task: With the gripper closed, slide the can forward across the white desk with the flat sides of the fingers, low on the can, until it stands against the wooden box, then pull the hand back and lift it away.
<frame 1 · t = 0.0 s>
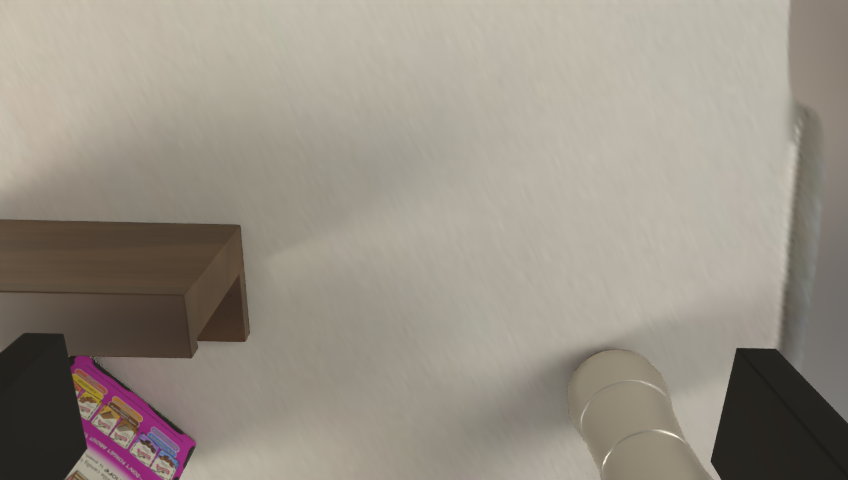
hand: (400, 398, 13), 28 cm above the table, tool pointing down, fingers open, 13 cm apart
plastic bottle: (606, 376, 46), on the table
candy bar box: (121, 413, 47), on the table
wooden box: (104, 242, 42), on the table
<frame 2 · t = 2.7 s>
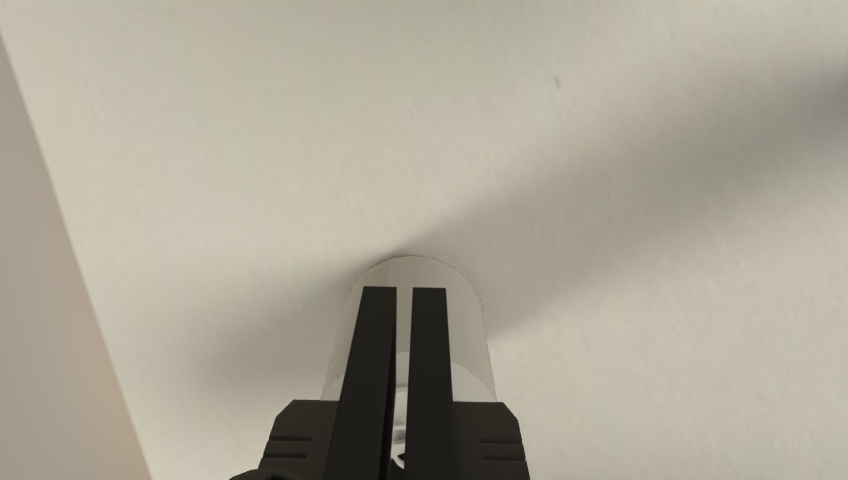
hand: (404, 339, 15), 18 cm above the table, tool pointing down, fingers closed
can: (413, 310, 36), on the table
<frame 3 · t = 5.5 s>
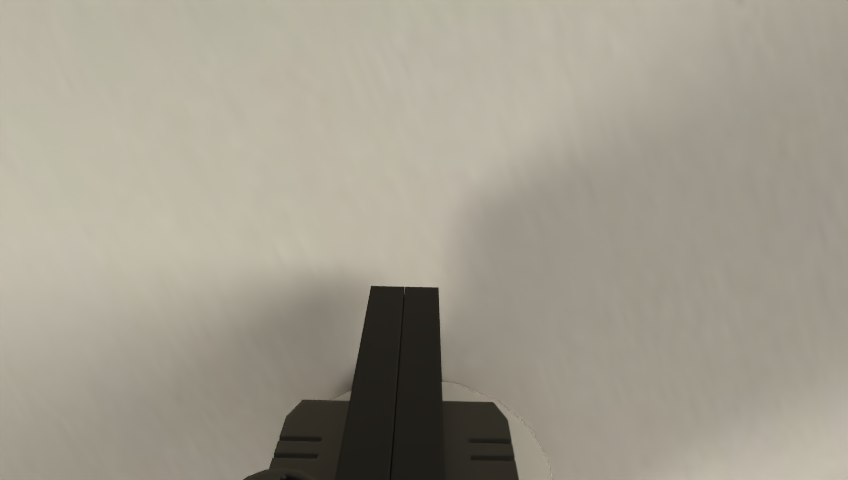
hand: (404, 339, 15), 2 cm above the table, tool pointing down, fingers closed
can: (415, 467, 18), on the table, touching gripper
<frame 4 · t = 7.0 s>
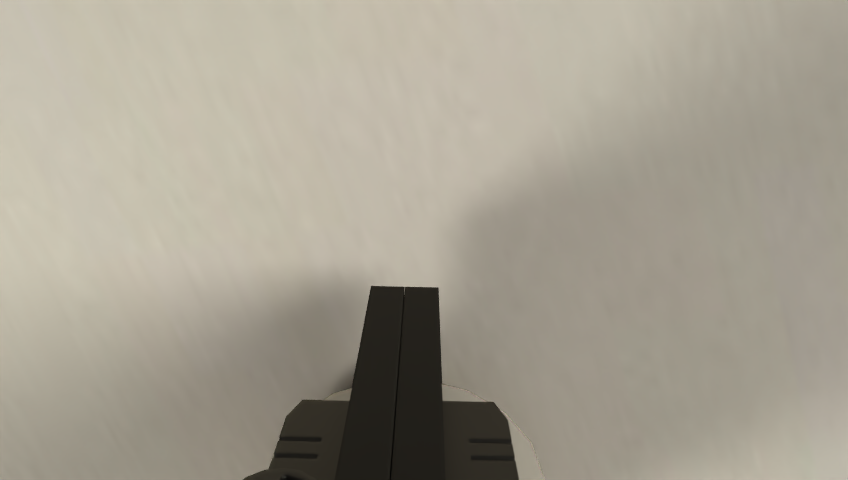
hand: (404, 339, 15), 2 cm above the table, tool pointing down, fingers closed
can: (407, 468, 18), on the table, touching gripper
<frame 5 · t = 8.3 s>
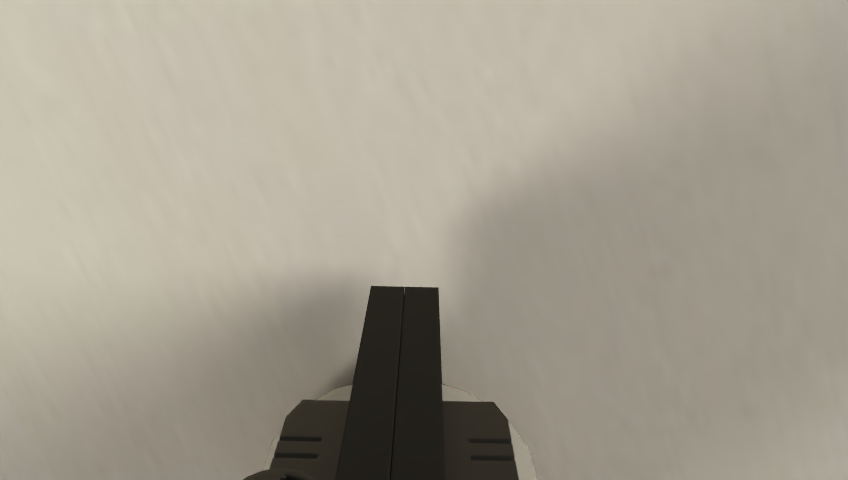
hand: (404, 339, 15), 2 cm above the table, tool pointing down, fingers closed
can: (401, 466, 18), on the table, touching gripper
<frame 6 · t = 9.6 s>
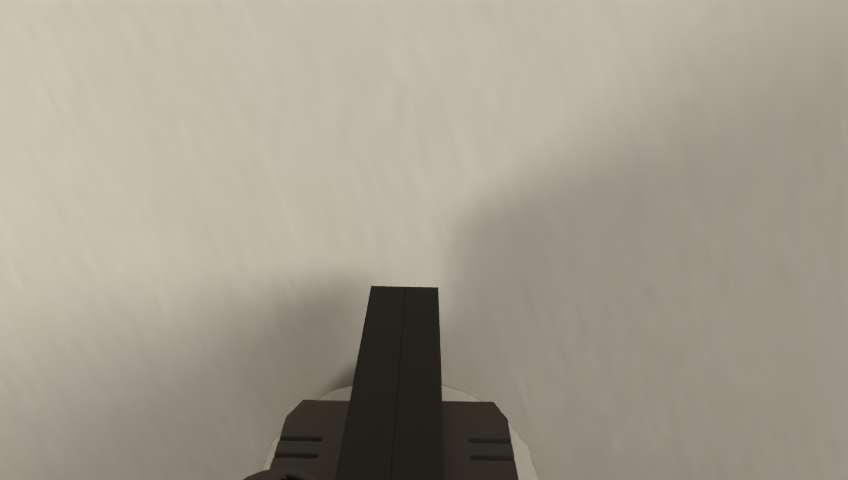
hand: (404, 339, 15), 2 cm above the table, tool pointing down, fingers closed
can: (401, 468, 18), on the table, touching wooden box, gripper
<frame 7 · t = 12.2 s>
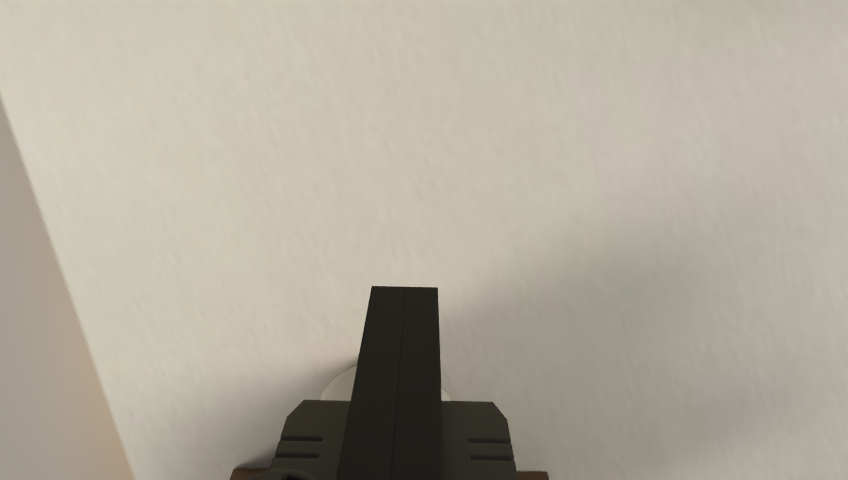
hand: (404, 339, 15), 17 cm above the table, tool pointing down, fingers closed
can: (386, 408, 36), on the table, touching wooden box
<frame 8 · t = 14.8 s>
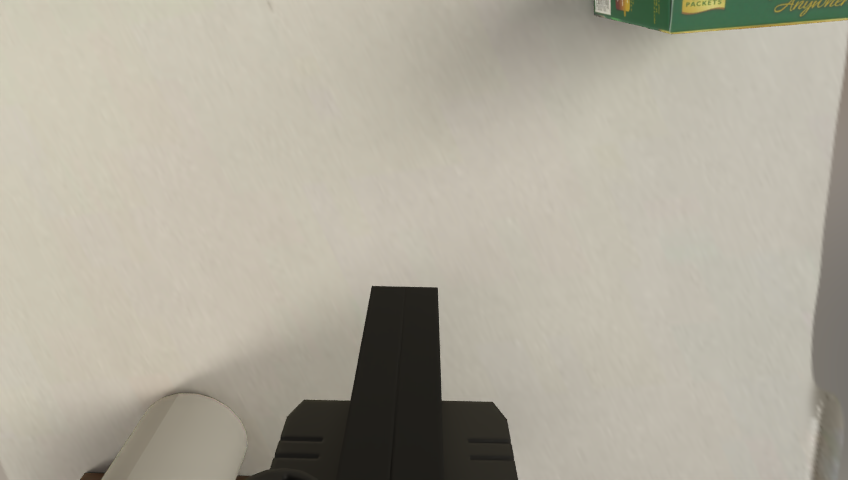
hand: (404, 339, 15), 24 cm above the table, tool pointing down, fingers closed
can: (199, 428, 46), on the table, touching wooden box
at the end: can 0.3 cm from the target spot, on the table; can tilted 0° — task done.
